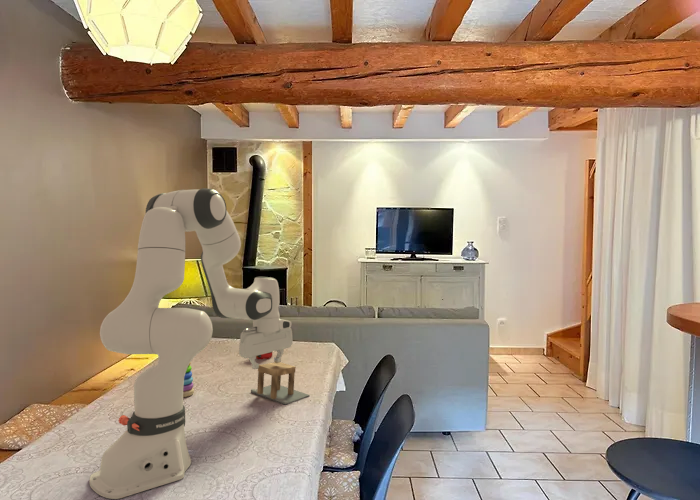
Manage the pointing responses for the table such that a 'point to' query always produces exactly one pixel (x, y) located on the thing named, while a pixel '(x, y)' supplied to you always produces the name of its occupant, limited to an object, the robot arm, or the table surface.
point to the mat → (281, 395)
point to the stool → (276, 377)
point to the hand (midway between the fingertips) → (266, 365)
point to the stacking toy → (188, 382)
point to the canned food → (264, 356)
